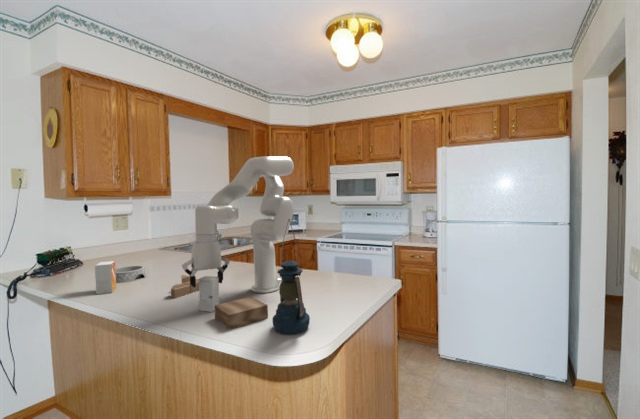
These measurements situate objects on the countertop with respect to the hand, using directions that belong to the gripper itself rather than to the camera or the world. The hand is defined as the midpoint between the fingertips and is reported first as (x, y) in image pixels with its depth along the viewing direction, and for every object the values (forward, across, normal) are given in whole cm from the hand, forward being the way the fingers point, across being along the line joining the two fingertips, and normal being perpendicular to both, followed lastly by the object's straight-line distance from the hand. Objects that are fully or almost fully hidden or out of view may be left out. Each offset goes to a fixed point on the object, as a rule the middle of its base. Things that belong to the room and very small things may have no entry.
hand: (207, 284), depth 122 cm
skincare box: (+10, -1, 0) cm, 10 cm away
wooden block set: (+10, +2, -34) cm, 35 cm away
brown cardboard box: (+10, -7, +16) cm, 20 cm away
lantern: (+10, -16, +33) cm, 38 cm away
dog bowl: (+10, +19, -76) cm, 78 cm away
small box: (+10, +29, -54) cm, 62 cm away
